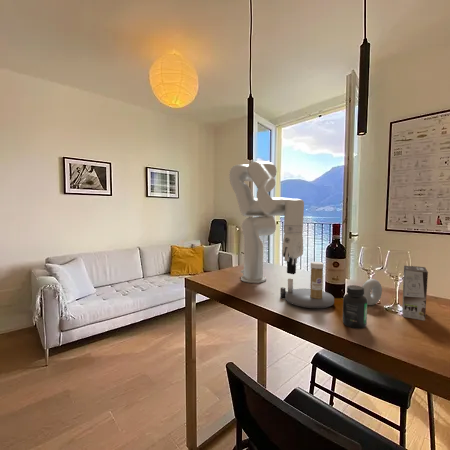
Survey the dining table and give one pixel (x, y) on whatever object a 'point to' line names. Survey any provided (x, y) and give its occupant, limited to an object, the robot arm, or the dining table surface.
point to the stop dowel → (282, 293)
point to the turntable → (307, 297)
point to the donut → (376, 291)
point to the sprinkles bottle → (316, 280)
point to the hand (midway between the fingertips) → (291, 273)
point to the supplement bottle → (355, 307)
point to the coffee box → (414, 292)
